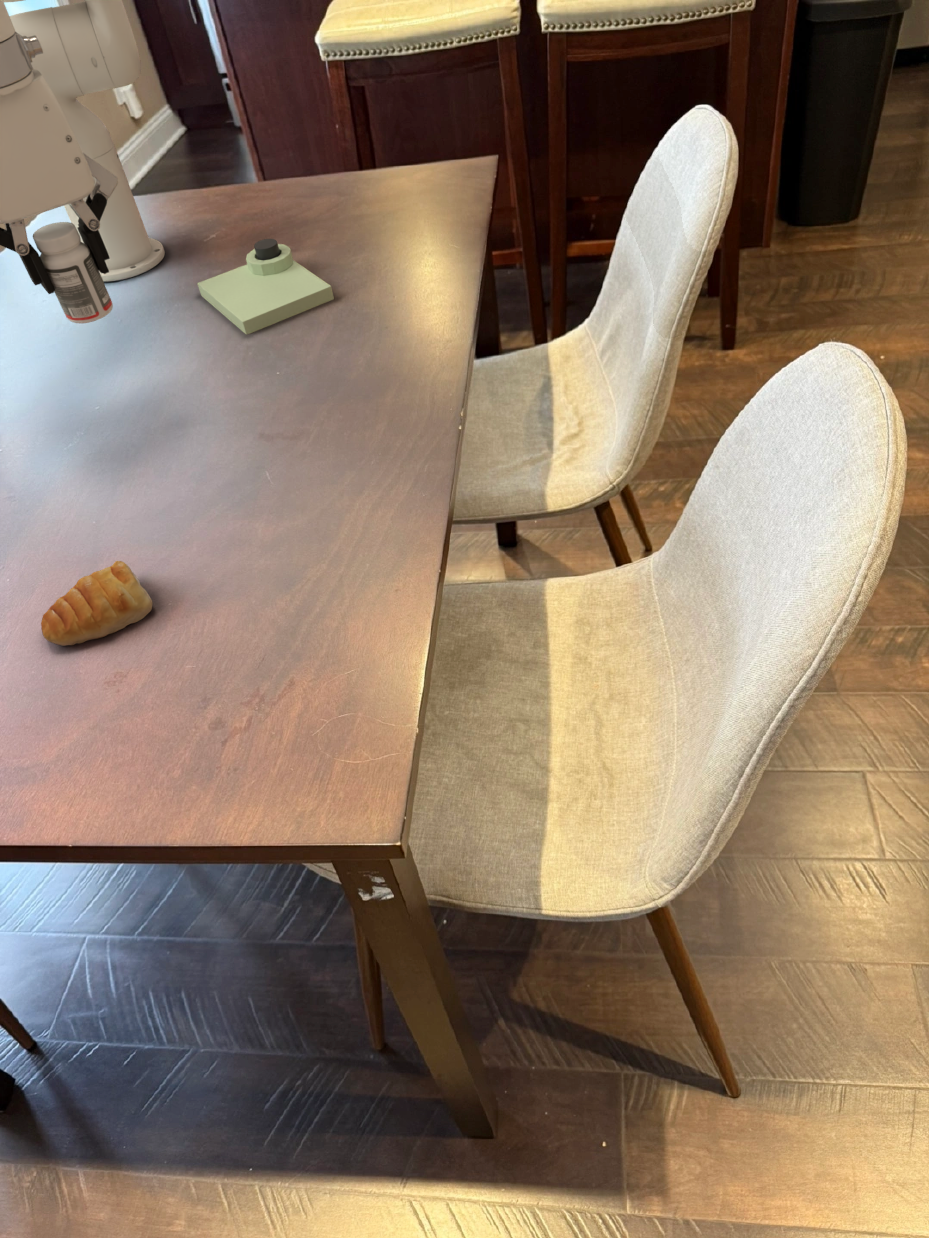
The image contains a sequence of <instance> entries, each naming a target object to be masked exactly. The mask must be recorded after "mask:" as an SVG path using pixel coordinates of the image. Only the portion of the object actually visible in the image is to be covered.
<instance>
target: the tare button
mask: <svg viewBox="0 0 929 1238" xmlns="http://www.w3.org/2000/svg"><path fill="white" fill-rule="evenodd" d="M278 244H279V243H278V240H277V239H275V238H265V239H261V240H258V241H256V242H255V243H254V245H253V249H255V252H256V255H257V259H258V260H270V259H273V258H276V257H278V256H279V255H280V251H279V247H278Z"/></svg>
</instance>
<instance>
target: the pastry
mask: <svg viewBox="0 0 929 1238" xmlns="http://www.w3.org/2000/svg"><path fill="white" fill-rule="evenodd" d="M76 581H77V582H76V583H75V584H74V586H72V587H71V588H70V589H69V590H68V591H67V592H66V594H64V595H63V596H60V597H59V598H58V599H56V601H55V602H54V603H53V604H52V605H51V606H50V607H49V608H48V609H47V611H46V612H45V613H43V615H42V617H41V621H40V626H41V627H40V628H41V629H40V630H41V633H42V636H43V638H44V639H45V640H47V642H49V643H52V644H55V645H59V646H74V645H76V644H84V643H85V642H87V641H91V640H98V639H101V638H104V637H106V636H108V635H111V634H114V633H116V632H118V631H120V630H122V629H125V628H126V627H127V626H128V625H130V624H136V623H137V622H139V621H141V620H142V619H144V618H145V617H146V616H147V615H148V614H149V613H150V612H151V611H152V610H153V600H152V598H151V597H150V594H149V593H148V591H147V590H146V589H145V587H143V586H142V585H141V582H140V580H139V578H138V577H137V575H136V574H135V573H134V572H133V571H132V569H131V568H130V567H129V565H128V564H127V563H126V562H124V561H122V560H115V562H113V564H112V565H110V566H107V567H104V568H103V569H101V570H100V569H99V570H96V571H93V572H92V573H91V574H89V575H85V576H83V577H81V578H79V579H78V580H76Z"/></svg>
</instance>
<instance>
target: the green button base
mask: <svg viewBox="0 0 929 1238" xmlns="http://www.w3.org/2000/svg"><path fill="white" fill-rule="evenodd" d="M278 247H279V251H280V255H279V256H278V257H276V258H273V259H270V260H258V259H257V255H256V252H255V248H253V249H252V250H251V251H249V252H248V253H247V254H246V257H245V261H246V264H244V265H241V266H238V267H236V268H234V269H231V270H227V271H225V272H223V273H221V274H217V275H215V276H213V277H209V278H208V279H205V280H202V281H199V282H197V283H196V284H197V287H198V290H199V293H200V296H201V297H202V298H203V299H205V300H206V301H207V302H208V303H209V304H210V305H211V306H213V308H215V310H217V311H218V312H219V313H221V314H222V315H223V316H224V317H225V318H226V319H227V320H228V321H230V322H231V323H232V324H233V325H234V326H235V327H237V328H238V329H239V330H240V331H241V332H243V334H245V335H246V336H247V335H251V334H252V333H255V332H258V331H260V330H262V329H265V328H267V327H270V326H272V325H274V324H277V323H280V322H282V321H284V320H286V319H289V318H291V317H294V316H296V315H299V314H301V313H304V312H306V311H308V310H311V309H314V308H317V307H318V306H321V305H323V304H326V303H328V302H330V301H333V300H335V297H334V293H333V288H332V285H330V284H329V283H327V282H326V281H324V279H322V278H321V277H318V276H317V275H316V274H315V273H313V272H311V271H310V270H308V268H305V267H304V266H303V265H302V264H300V263H298V262H297V261H296V260H294V257H293V253H292V249H291V247H290V246H288V245H286V244H282V243H278Z"/></svg>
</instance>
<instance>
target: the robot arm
mask: <svg viewBox="0 0 929 1238" xmlns="http://www.w3.org/2000/svg"><path fill="white" fill-rule="evenodd" d="M22 1H25V0H0V224H3V225H4V228H3V227H0V246H1V247H3V248H6V249H8V250H10V251H12V252H15V253H16V254H18V256H19V258H20V260H21V262H22V264H23V266H24V268H25V270H26V272H27V274H28V276H29V278H30V280H31V282H32V283H33V285H34V286H38V285H41V286H42V287H43V289H44V290H45V292H47V294H48V295H52V294H55V292H54V291H55V288H54V286H53V284H52V281H51V279H50V277H49V275H48V273H47V271H46V269H45V267H44V265H43V262H42V260H41V258H40V254H39V252H38V251H37V250H36V248H35V247H33V246H32V244H31V243H30V242H29V239H28V234H27V228H26V224H25V219H28V218H30V217H34V216H36V215H40V214H43V213H45V212H49V211H51V210H55V209H58V208H61V207H64V209H65V212H66V215H67V217H68V218H69V222H70V223H73V224H74V225H75V227H76V229H77V231H78V233H79V235H80V239H81V242H83V243H84V244H86V245H87V246H88V248H89V250H90V252H91V254H92V256H93V259H94V261H95V263H96V266H97V268H98V270H99V273H100V275H101V277H102V279H103V282H104V283H105V282H106V283H107V282H117V281H123V280H127V279H131V278H133V277H137V276H139V275H141V274H144V273H146V272H148V271H150V270H152V269H154V268H155V267H156V266H157V265H158V264H160V263H161V261H163V259H164V257H165V253H166V252H165V248H164V246H163V244H162V242H160V241H159V239H158V240H157V239H155V238H151V237H149V235H148V233H147V230H146V227H145V224H144V222H143V221H144V220H143V219H142V216H141V213H140V210H139V207H138V204H137V202H136V199H135V197H134V194H133V191H132V189H131V186H130V183H129V180H128V178H127V175H126V173H125V169H124V167H123V165H122V162H121V159H120V156H119V154H118V150H117V148H116V146H115V143H114V140H113V137H112V134H111V131H109V129H108V127H107V125H106V124H105V123H104V121H103V120H102V119H101V118H100V116H98V115H97V114H96V113H95V112H94V111H92V110H91V109H90V108H89V107H87V106H86V105H84V103H82V102H81V101H79V100H78V99H77V98H79V97H83V96H84V97H85V96H86V95H90V94H95V93H99V92H104V91H108V90H109V91H111V90H113V89H114V90H115V89H118V88H123V87H126V86H127V87H128V86H129V85H132V84H133V83H135V82H136V81H138V79H139V78H140V76H141V74H142V73H141V72H142V62H141V57H140V52H139V47H138V44H137V41H136V38H135V35H134V32H133V28H132V26H131V23H130V20H129V17H128V14H127V10H126V8H125V5H124V3H123V0H84V1H80V2H75V3H69V4H63V5H59V6H50V7H44V8H40V9H34V10H30V11H25V12H20V13H16V14H12V15H10V14H9V12H8V9H7V7H6V5H5V3H14V2H15V3H16V2H22Z"/></svg>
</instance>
